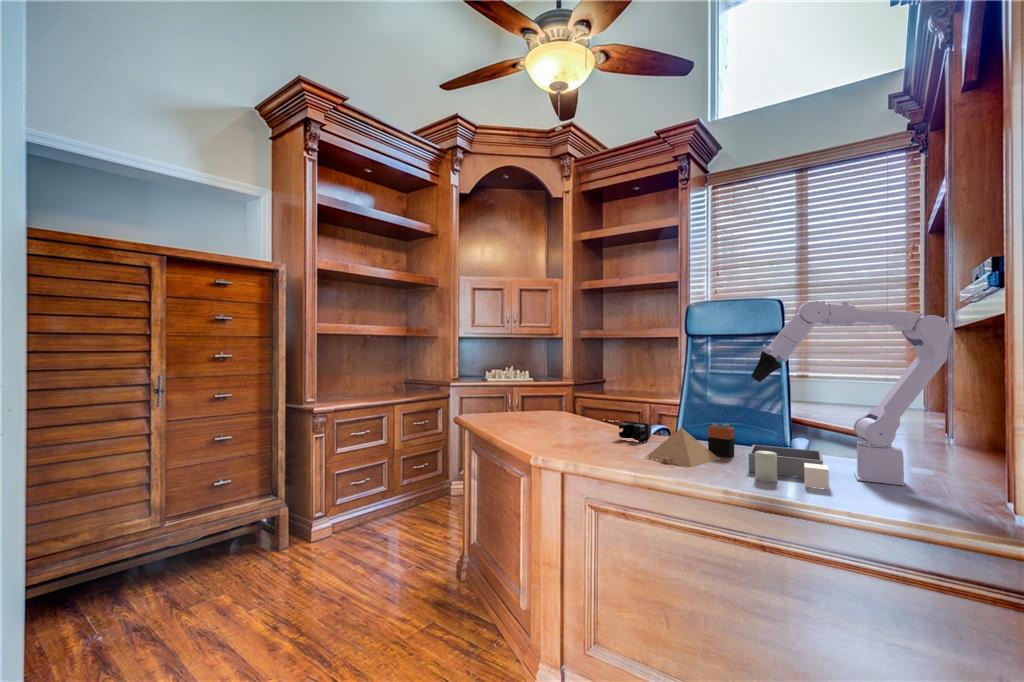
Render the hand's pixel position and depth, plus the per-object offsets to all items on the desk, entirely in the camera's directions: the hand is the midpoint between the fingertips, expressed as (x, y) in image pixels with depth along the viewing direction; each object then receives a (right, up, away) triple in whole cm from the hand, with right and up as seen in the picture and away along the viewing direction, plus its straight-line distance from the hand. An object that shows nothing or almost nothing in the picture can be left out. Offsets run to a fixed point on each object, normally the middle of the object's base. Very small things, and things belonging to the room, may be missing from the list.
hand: (755, 379), depth 132 cm
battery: (-1, -26, +19) cm, 32 cm away
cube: (+8, -25, -15) cm, 30 cm away
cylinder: (-2, -25, -9) cm, 27 cm away
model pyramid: (-16, -26, +15) cm, 34 cm away
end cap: (-22, -27, +44) cm, 56 cm away
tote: (+8, -25, 0) cm, 27 cm away
